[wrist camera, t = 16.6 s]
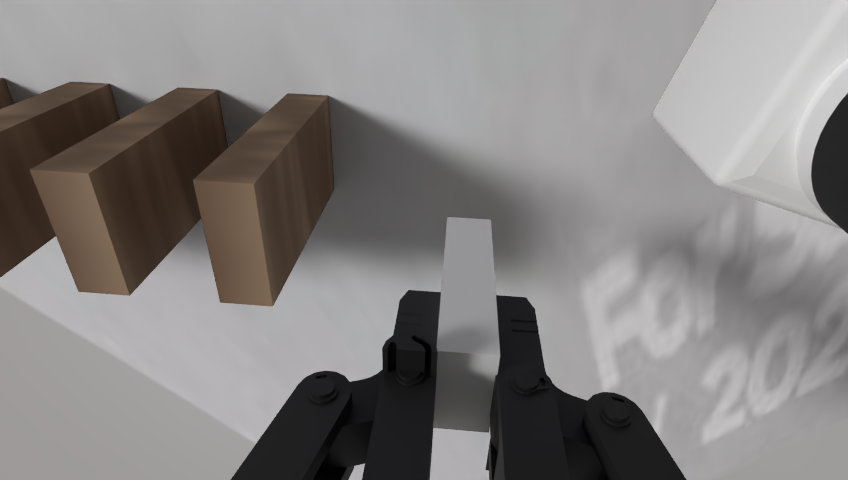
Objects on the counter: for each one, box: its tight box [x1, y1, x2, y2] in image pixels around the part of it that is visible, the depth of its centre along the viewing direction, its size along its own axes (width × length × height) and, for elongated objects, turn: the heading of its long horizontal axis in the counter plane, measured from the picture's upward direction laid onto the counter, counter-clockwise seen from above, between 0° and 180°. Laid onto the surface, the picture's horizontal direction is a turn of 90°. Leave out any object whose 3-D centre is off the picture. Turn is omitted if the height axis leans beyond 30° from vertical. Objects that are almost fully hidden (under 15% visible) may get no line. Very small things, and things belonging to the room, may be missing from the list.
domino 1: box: [0, 82, 120, 277], centre depth 23 cm, size 2×5×10 cm, turn 178°
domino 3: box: [193, 94, 334, 306], centre depth 22 cm, size 2×5×10 cm, turn 178°
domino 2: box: [30, 88, 228, 296], centre depth 22 cm, size 2×5×10 cm, turn 178°
